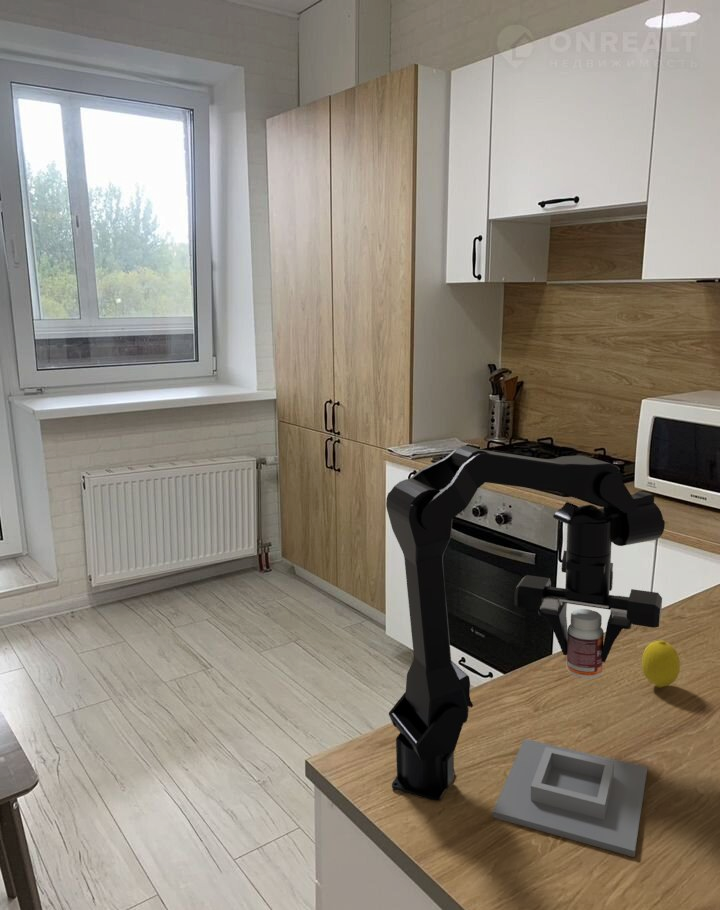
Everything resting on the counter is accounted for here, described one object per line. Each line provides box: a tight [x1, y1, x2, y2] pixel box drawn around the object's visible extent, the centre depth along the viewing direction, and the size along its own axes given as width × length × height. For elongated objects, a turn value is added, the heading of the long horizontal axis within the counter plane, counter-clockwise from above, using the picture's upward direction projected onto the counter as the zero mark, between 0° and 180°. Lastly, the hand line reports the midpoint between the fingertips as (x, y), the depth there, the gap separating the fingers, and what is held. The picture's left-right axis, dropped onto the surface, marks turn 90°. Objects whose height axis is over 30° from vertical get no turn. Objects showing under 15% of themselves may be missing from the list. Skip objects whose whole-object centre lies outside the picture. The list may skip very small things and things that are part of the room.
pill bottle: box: [566, 608, 605, 679], centre depth 100 cm, size 5×5×8 cm
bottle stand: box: [492, 738, 648, 858], centre depth 90 cm, size 16×16×3 cm
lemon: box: [641, 639, 681, 689], centre depth 113 cm, size 6×6×8 cm
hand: (584, 657), depth 100 cm, fingers closed on pill bottle, 5 cm apart
